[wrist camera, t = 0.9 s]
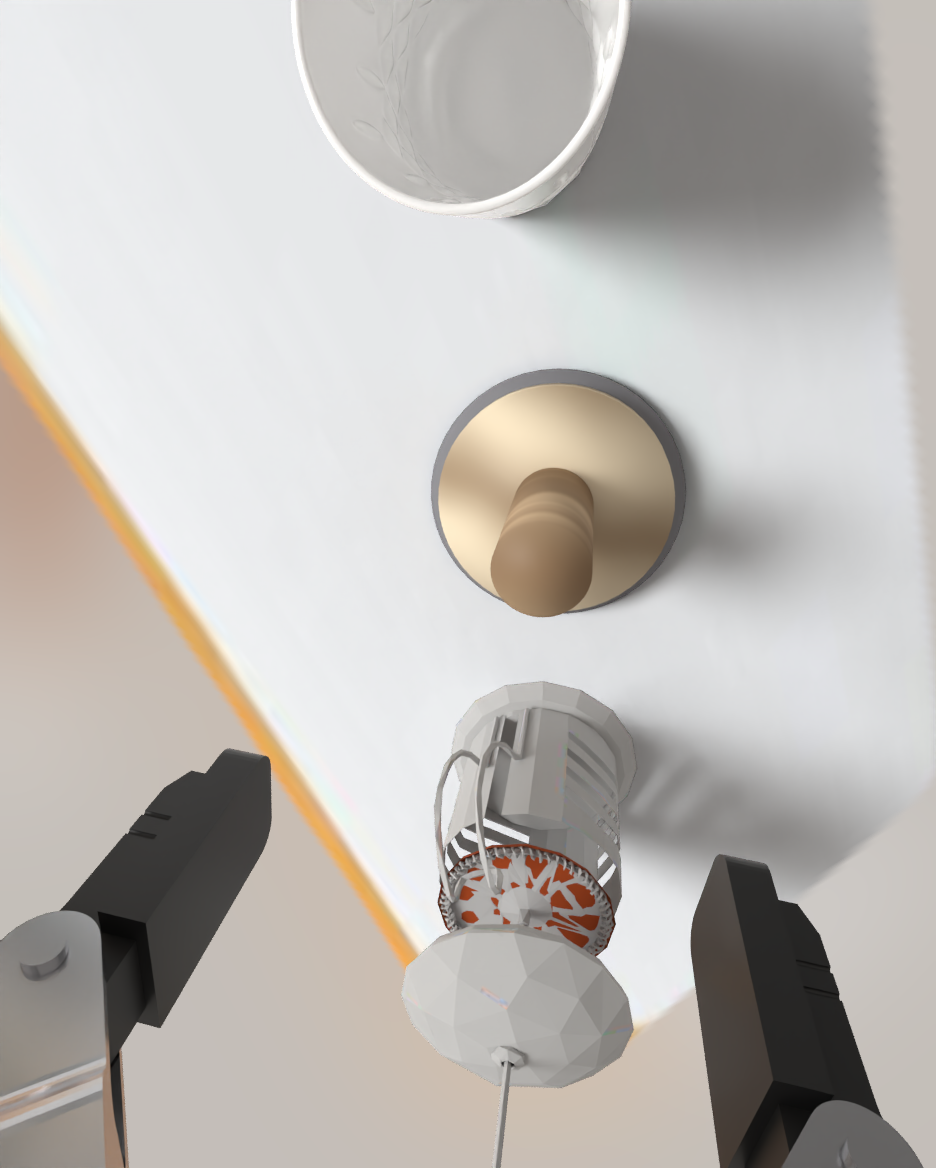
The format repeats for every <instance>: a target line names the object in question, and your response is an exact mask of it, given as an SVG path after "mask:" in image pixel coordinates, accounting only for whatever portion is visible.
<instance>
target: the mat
mask: <svg viewBox="0 0 936 1168" xmlns="http://www.w3.org/2000/svg"><path fill="white" fill-rule="evenodd" d="M548 383H568V384H577V385H582V386H586V387H591V388H594V389H596V390H599V391H602V392H605V393H607V394H609V395H611V396H613V397H615V398H617V399H619V400H620V401H622V402H623V403H625V404H626V405H627V406H629V407H630V408H632V409H633V410H634V411H635V412H636V413H637V414H638V415H639V416H640V417H641V418H643V419H644V420H645V422H646V423H647V424H648V425H649V427H650V428H651V429H652V430H653V432H654V433H655V435H656V436H657V438H658V440H659V442H660V443H661V445H662V447H663V449H664V452H665V454H666V457H667V459H668V462H669V464H670V468H671V472H672V476H673V480H674V489H675V511H674V517H673V522H672V527H671V530H670V533H669V536H668V539H667V541H666V543H665V545H664V547H663V549H662V552H661V553H660V555H659V556H658V558H657V559H656V561H655V562H654V564H653V565H652V567H651V568H650V569H649V570H648V571H647V572H646V574H645V575H644V576H643V577H642V578H641V579H640V580H638V581H637V582H636V583H635V584H634V585H633V586H632V587H630V588H629V589H627V590H626V591H624V592H623V593H621V594H620V595H618V596H616V597H614V598H612V599H610V600H608V601H606V602H604V603H601V604H598V605H595V606H593V607H588V608H584V609H580V610H573V611H567V612H565V613H574V612H582V611H586V610H590V609H595V608H598V607H601V606H603V605H606V604H609V603H612V602H613V601H615V600H617V599H619V598H621V597H623V596H625V595H627V594H628V593H630V592H631V591H633V590H634V589H635V588H637V587H638V586H640V585H641V584H642V583H643V582H644V581H645V580H646V579H648V578H649V577H650V576H651V575H652V574H653V572H654V571H655V570H656V569H657V568H658V567H659V566H660V564H661V563H662V562H663V560H664V559H665V557H666V556H667V554H668V553H669V551H670V549H671V547H672V545H673V543H674V541H675V539H676V537H677V534H678V531H679V528H680V525H681V522H682V518H683V513H684V507H685V491H686V487H685V477H684V470H683V466H682V462H681V458H680V455H679V452H678V450H677V447H676V445H675V442H674V440H673V438H672V436H671V434H670V432H669V431H668V429H667V427H666V426H665V424H664V422H663V421H662V420H661V419H660V417H659V416H658V415H657V414H656V412H655V411H654V410H653V409H652V408H651V407H650V406H649V405H648V404H647V403H646V402H645V401H644V400H643V399H642V398H640V397H639V396H638V395H636V394H635V393H633V392H632V391H631V390H629V389H628V388H626V387H624V386H622V385H621V384H619V383H617V382H615V381H613V380H611V379H608V378H605V377H602V376H600V375H597V374H594V373H589V372H584V371H579V370H570V369H548V370H539V371H534V372H529V373H524V374H521V375H518V376H515V377H513V378H510V379H507V380H505V381H503V382H501V383H499V384H497V385H495V386H493V387H492V388H490V389H489V390H487V391H486V392H484V393H483V394H482V395H480V396H479V397H478V398H476V399H475V400H474V401H473V402H472V403H471V404H470V405H469V406H468V407H467V408H466V409H465V410H464V411H463V412H462V413H461V414H460V416H459V417H458V418H457V419H456V420H455V422H454V423H453V424H452V426H451V428H450V429H449V431H448V433H447V434H446V436H445V438H444V440H443V442H442V444H441V447H440V449H439V451H438V454H437V458H436V461H435V464H434V469H433V476H432V482H431V500H432V509H433V515H434V519H435V523H436V527H437V530H438V532H439V535H440V537H441V540H442V542H443V544H444V546H445V548H446V550H447V551H448V553H449V555H450V556H451V558H452V559H453V561H454V562H455V563H456V565H457V566H458V567H459V568H460V570H461V571H462V572H463V573H464V574H465V575H466V576H467V577H468V578H469V579H470V580H471V581H472V582H474V583H475V584H476V585H477V586H478V587H480V588H481V589H482V590H484V591H486V592H487V593H489V594H490V595H492V596H493V597H495V598H497V599H499V600H501V601H503V602H504V600H503V599H502V598H500V597H498V596H496V595H494V594H493V593H491V592H490V591H488V590H487V589H485V588H484V587H482V586H481V585H480V584H479V583H478V582H476V581H475V580H474V579H473V578H472V577H471V576H470V575H469V574H468V573H467V572H466V570H465V569H464V568H463V567H462V566H461V564H460V563H459V561H458V560H457V559H456V557H455V556H454V554H453V552H452V550H451V548H450V546H449V545H448V542H447V539H446V537H445V534H444V532H443V528H442V524H441V520H440V514H439V505H438V497H439V484H440V477H441V473H442V469H443V466H444V463H445V460H446V458H447V455H448V453H449V451H450V449H451V447H452V445H453V444H454V442H455V440H456V439H457V437H458V436H459V434H460V433H461V432H462V430H463V429H464V428H465V427H466V426H467V425H468V423H469V422H470V421H471V420H472V419H473V418H474V417H475V416H476V415H477V414H478V413H479V412H480V411H481V410H483V409H484V408H485V407H486V406H488V405H489V404H491V403H492V402H494V401H495V400H497V399H499V398H501V397H503V396H504V395H506V394H508V393H510V392H513V391H516V390H519V389H522V388H525V387H529V386H534V385H539V384H548Z"/></svg>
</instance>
